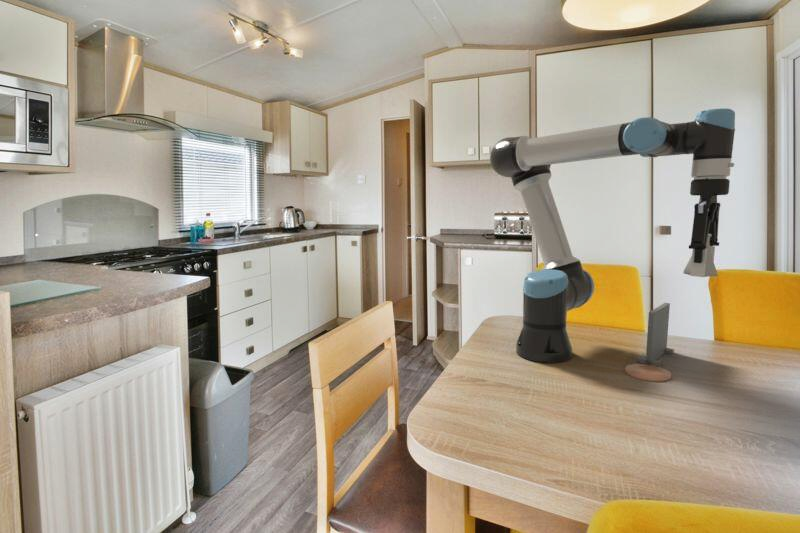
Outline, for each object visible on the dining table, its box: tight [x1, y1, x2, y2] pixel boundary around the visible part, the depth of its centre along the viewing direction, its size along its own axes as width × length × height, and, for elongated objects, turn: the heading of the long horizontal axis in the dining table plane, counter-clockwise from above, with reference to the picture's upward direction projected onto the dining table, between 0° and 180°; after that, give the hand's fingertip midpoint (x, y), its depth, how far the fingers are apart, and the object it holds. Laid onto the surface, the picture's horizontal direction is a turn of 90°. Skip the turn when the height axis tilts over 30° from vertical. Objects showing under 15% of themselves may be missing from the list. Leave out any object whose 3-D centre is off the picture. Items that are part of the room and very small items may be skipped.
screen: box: [637, 302, 675, 367], centre depth 121 cm, size 5×14×14 cm, turn 135°
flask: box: [683, 234, 719, 278], centre depth 107 cm, size 7×7×10 cm
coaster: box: [624, 363, 672, 383], centre depth 111 cm, size 10×10×1 cm
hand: (701, 273), depth 108 cm, fingers closed on flask, 7 cm apart
